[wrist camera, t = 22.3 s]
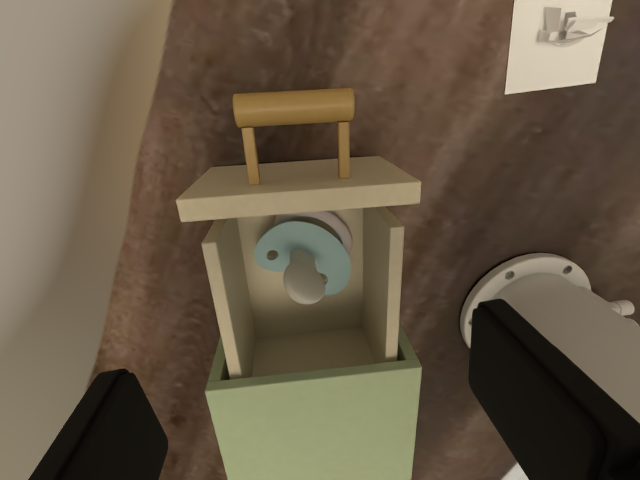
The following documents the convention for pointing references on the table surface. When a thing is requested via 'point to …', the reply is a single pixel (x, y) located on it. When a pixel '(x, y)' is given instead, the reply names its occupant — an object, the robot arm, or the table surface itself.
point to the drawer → (309, 196)
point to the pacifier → (307, 255)
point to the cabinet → (318, 420)
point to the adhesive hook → (555, 43)
